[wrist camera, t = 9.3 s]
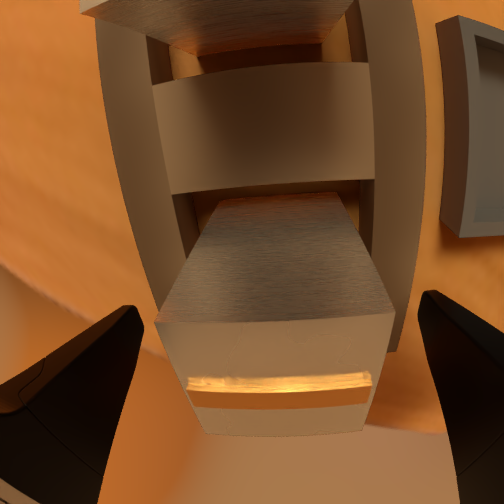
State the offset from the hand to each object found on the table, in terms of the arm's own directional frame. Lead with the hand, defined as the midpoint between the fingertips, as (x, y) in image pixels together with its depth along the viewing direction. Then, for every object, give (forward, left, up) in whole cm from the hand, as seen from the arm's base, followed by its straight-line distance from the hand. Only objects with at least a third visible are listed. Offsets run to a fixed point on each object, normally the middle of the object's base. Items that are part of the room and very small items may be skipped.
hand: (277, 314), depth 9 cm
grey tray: (-11, -5, -4) cm, 13 cm away
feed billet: (0, 0, -4) cm, 4 cm away
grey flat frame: (0, -5, -4) cm, 7 cm away
